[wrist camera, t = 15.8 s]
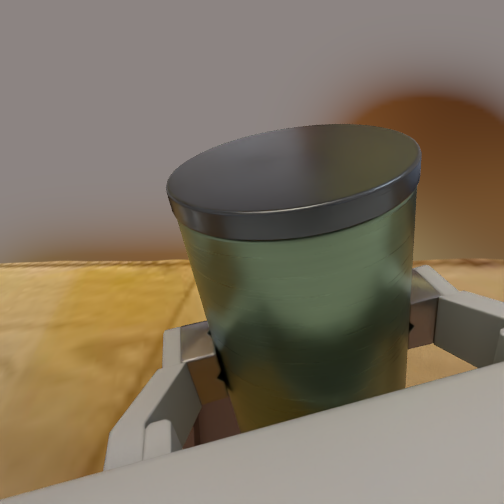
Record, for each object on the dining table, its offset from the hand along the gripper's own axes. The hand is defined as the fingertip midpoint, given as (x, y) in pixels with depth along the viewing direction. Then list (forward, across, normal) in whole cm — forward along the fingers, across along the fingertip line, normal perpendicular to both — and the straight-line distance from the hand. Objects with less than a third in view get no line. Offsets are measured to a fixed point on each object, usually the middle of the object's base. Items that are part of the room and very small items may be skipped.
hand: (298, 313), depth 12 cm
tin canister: (-1, 0, +6) cm, 6 cm away
